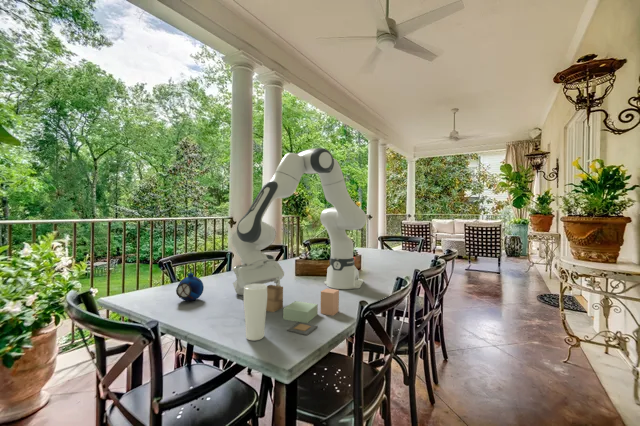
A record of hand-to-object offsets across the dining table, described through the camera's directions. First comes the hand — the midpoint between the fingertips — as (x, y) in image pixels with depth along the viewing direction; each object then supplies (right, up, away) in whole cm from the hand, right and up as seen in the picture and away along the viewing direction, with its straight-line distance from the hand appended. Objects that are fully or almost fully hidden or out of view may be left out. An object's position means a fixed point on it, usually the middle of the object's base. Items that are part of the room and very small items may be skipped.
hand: (269, 291), depth 112 cm
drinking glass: (0, -7, -26) cm, 27 cm away
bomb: (-34, -6, +7) cm, 35 cm away
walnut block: (+1, -6, 0) cm, 6 cm away
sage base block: (+12, -7, -9) cm, 17 cm away
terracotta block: (+23, -7, -4) cm, 24 cm away
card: (+14, -7, -19) cm, 25 cm away
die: (-15, -6, +18) cm, 24 cm away
